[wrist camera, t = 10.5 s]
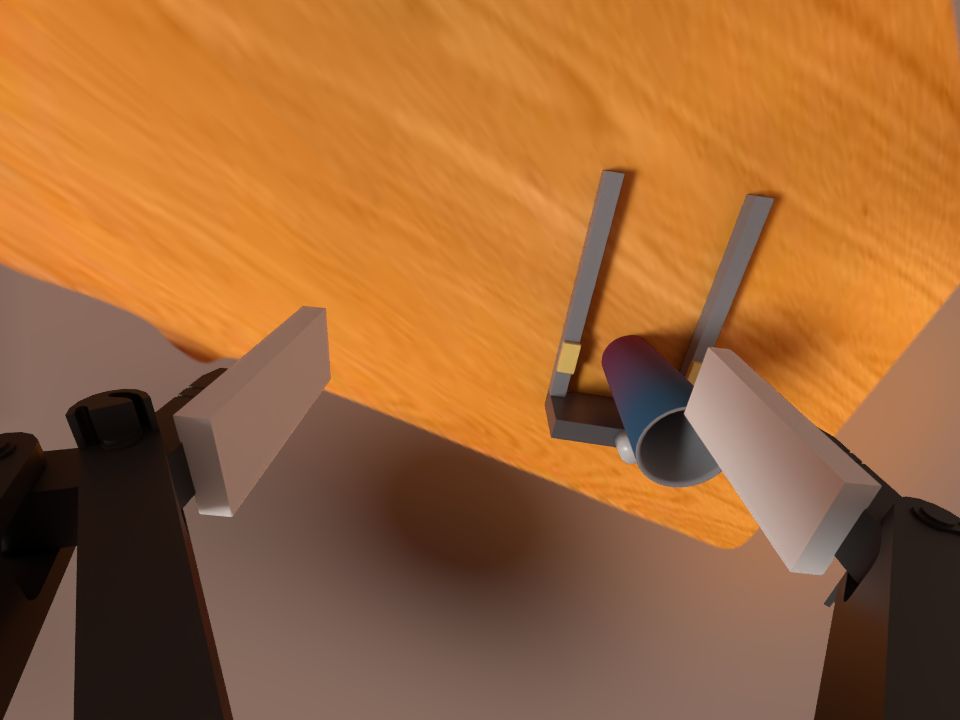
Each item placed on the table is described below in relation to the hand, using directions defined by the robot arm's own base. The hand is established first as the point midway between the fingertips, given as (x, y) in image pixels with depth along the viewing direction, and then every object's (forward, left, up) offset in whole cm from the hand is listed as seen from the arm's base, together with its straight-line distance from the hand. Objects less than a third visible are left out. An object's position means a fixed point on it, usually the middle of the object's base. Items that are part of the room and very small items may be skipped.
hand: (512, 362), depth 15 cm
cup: (+10, +14, -27) cm, 32 cm away
